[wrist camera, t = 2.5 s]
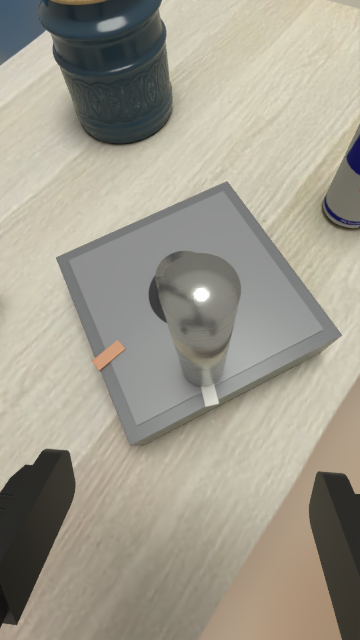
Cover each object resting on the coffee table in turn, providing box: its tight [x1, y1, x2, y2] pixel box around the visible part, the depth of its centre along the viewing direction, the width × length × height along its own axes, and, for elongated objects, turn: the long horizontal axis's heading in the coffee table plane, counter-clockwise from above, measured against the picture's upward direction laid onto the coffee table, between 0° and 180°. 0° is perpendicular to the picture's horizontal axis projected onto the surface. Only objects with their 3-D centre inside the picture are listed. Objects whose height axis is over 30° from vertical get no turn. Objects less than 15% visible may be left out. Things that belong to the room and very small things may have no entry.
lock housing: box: [56, 181, 342, 446], centre depth 29 cm, size 18×18×5 cm
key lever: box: [155, 251, 241, 386], centre depth 19 cm, size 10×4×13 cm, turn 11°
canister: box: [38, 0, 172, 143], centre depth 35 cm, size 13×13×18 cm
